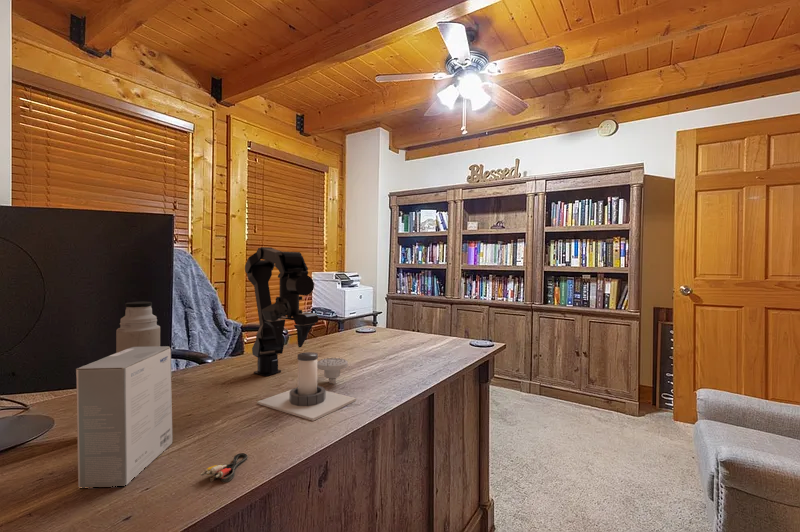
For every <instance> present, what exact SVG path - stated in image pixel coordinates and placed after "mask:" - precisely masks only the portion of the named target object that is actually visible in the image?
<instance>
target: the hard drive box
mask: <svg viewBox="0 0 800 532" xmlns="http://www.w3.org/2000/svg"><path fill="white" fill-rule="evenodd" d="M171 351H172V350H171V347H170V346H168V345H167V346H166V345H165V346H164V345H163V346H161V345H160V346H153V347H131V348H129V349H126V350H123V351H121V352H118V353H116V352H115V353H113V354H110V355H108V356H105V357H103V358H100V359H98V360H96V361H93V362H90V363H88V364H86V365H82V366H80V367H77V368H75V375H76V422H77V423H76V425H77V427H76V428H77V431H76V432H77V479H78V481H77V488H78V487H82V488H85V487H111V488H118V487H117V486H125V485H126V486H127V485H128V484H130V483H131V482H132V481H133V480H132V479H133V478H134V477H135V478H137V476H139V475H140V474H141V473H142V472H143V470H144V468H145V467H146V468H147V467H148V466H149V465H150V464H152V462H153V461H154V460H156V458H158V457H159V456H160V455H161V454H162V453H164V452H163V451H166V449H168V447H170V446H171V445H172V444H173V408H172V407H173V406H172V404H173V403H172V402H173V400H172V398H173V397H172V396H173V395H172V356H171V355H172V354H171ZM146 468H145V469H146ZM141 471H142V472H141ZM140 472H141V473H140ZM139 473H140V474H139ZM135 478H134V479H135ZM131 480H132V481H131ZM112 486H113V487H112ZM115 486H116V487H115ZM126 486H125V487H126Z"/></svg>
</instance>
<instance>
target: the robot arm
mask: <svg viewBox="0 0 800 532" xmlns="http://www.w3.org/2000/svg"><path fill="white" fill-rule="evenodd" d="M274 268H276V270H278V272H279V273H278V275H277V278H278V279H279V293H278V294H279V295H278V296H276V298H275V302H274V303H272V298H271V291H270V285H269V282H270V280H271V278H272V276H273V270H274ZM308 270H309V268H308V266H307V263H306V262H305V259H304V256H303V254H302V253H301V252H300V251H283V250H278V249H276V248H273V247H264V246H263V247H262V246H261V247H258V248H257V250H256V252H255V253H253V254H251V255H250V256H249V257H248V258H247V260H246V263H245V265H244V272H245V274H246V275H247V276H246V277H247V280H248V281H249V283H251V284H252V285H253V288H254V295H255V303H256V308H257V309H256V310H257V316H258V321H259V328H258V330H257V333H256V334H255V338H256V339H255V341H254V343H253V345H252V348H251V352H252V356H254V357H256V358H257V370H255V371H253V374H255V375H260V376H264V377H268V376H271V375H274V374H278V373H281V372H282V369H279V359H278V358H279V357H278V356H279V355H278V354H280V355H281V354H283V351H284V347H285V337H284V336H283V334H284V329H285V325H286V324H285V323H286V320H289V321H294V323H295V324H293V327H294V328H295V329H296V334H297V335H296V336H297V337H296V338H297V347H298V348H302V347H303V345H304V344H305V341H306V339H307V337H308V335H309V332H310V331H311V329H312V328H313V326H315V325H316V324H318V323H319V315H318V314H317V313H316V312H310V311H307V312H303V310H302V309H300V301H302V300H303V297H305V296H309V295H310V294H311V293H312V292H313V291H314V288H315V282H314V280H313V279H312V277H311V276H309V275H308V274H309V271H308Z"/></svg>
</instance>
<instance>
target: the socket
mask: <svg viewBox="0 0 800 532" xmlns="http://www.w3.org/2000/svg"><path fill="white" fill-rule="evenodd" d="M356 401H357V397H353V396H348V395H345V394H341V393H336V392H333V391H330V390H329V391H328V390H326V388H325V387H324V386H320V385H317V394H314V395H298V386H297V387H294V388H292V389H289V390H287V391H283V392H280V393H277V394H275V395H273V396H269V397H267V398H263V399H261V400H258V401H257V405H261V406H264V407H267V408H270V409H273V410H277V411H279V412H283V413H286V414H289V415H293V416H296V417H300V418H301V419H305V420H309V421H312V422H314V421H315V420H318V419H321V418H322V417H324V416H327V415H329V414H331V413H333V412H335V411H337V410H339V409H342V408H343V407H346V406H348V405H350V404H352V403H354V402H356Z"/></svg>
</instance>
